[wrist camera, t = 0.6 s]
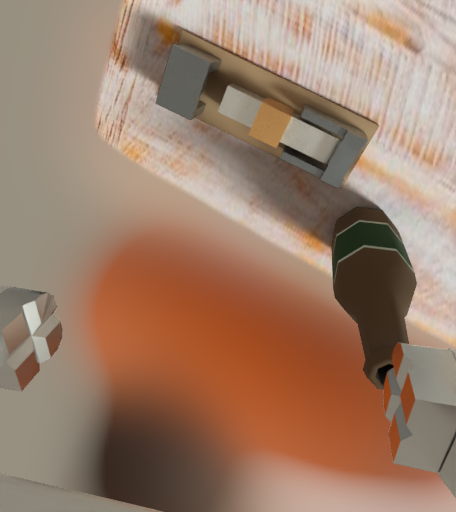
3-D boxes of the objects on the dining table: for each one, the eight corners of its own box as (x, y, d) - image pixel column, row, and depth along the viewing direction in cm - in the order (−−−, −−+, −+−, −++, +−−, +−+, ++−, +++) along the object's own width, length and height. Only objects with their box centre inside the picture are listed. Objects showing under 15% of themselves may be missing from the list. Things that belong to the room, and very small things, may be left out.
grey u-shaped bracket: (305, 103, 42) (304, 110, 38) (364, 131, 42) (369, 141, 38) (283, 149, 45) (279, 160, 41) (338, 175, 45) (339, 189, 41)
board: (184, 30, 42) (181, 30, 41) (377, 124, 42) (379, 126, 41) (164, 99, 46) (161, 101, 45) (340, 185, 46) (341, 187, 45)
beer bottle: (323, 213, 48) (323, 342, 28) (390, 196, 46) (445, 326, 25) (338, 266, 51) (348, 418, 31) (401, 253, 49) (458, 411, 28)
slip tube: (234, 79, 42) (225, 84, 38) (351, 136, 42) (354, 146, 38) (222, 110, 44) (212, 117, 40) (335, 164, 44) (336, 177, 40)
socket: (187, 43, 42) (172, 44, 37) (221, 60, 42) (210, 62, 37) (171, 97, 45) (155, 103, 40) (203, 112, 45) (190, 120, 40)
